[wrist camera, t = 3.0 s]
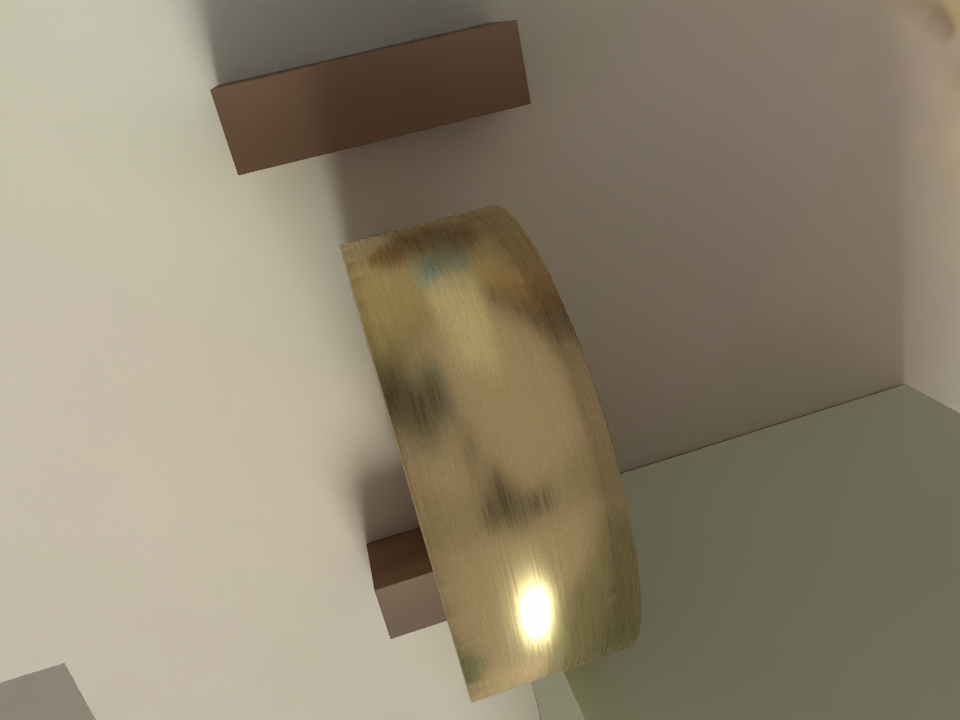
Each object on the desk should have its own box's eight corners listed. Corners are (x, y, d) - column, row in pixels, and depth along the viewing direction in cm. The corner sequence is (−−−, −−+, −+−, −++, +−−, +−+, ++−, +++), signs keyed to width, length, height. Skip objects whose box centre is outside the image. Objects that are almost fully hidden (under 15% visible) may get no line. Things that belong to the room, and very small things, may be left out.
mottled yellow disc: (410, 493, 22) (501, 804, 14) (321, 183, 17) (388, 407, 10) (513, 461, 22) (654, 748, 15) (455, 150, 17) (620, 340, 10)
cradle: (218, 85, 16) (210, 90, 15) (491, 22, 17) (516, 20, 15) (381, 590, 22) (390, 638, 20) (583, 524, 23) (609, 566, 21)
